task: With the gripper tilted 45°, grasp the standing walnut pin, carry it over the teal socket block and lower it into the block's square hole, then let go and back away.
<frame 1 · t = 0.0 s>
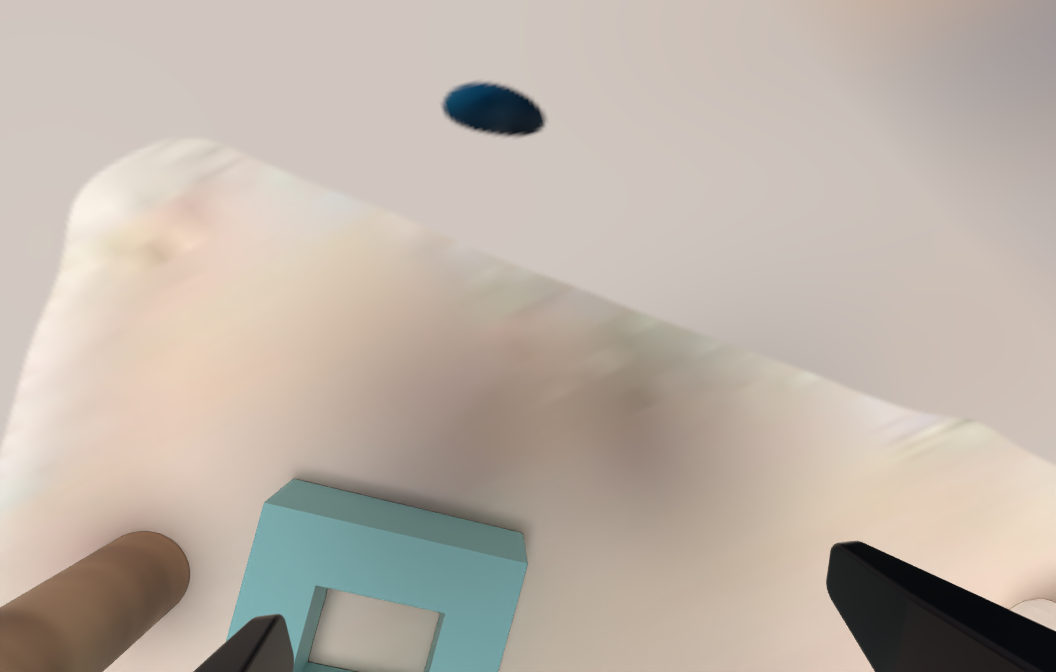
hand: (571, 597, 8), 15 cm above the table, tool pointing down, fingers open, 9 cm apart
walnut pin: (142, 575, 22), on the table
socket block: (379, 618, 23), on the table
shot glass: (1031, 647, 26), on the table
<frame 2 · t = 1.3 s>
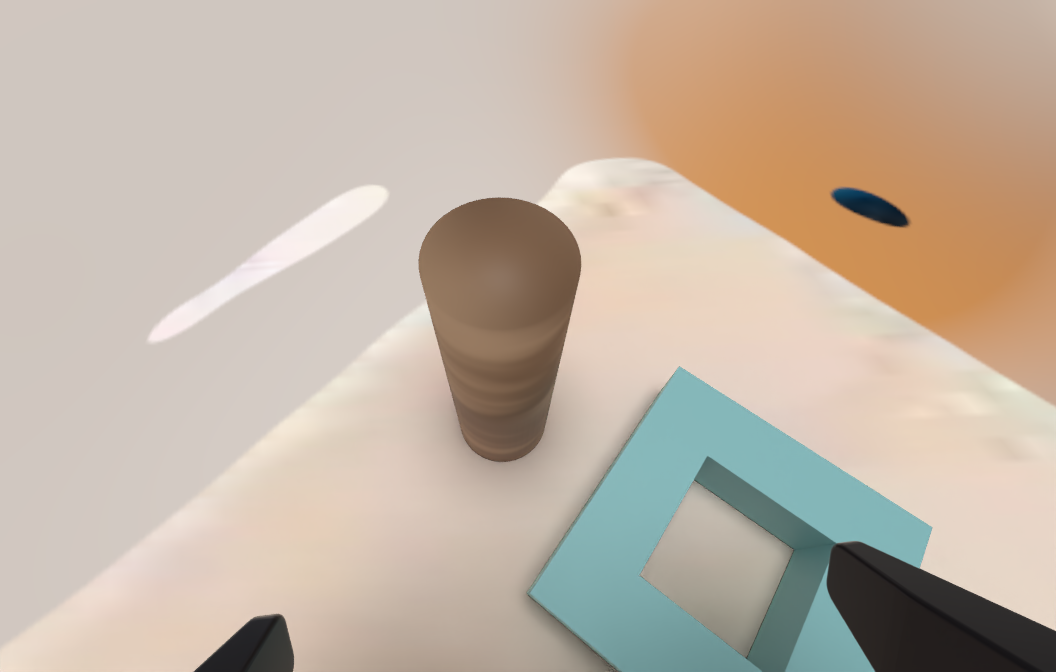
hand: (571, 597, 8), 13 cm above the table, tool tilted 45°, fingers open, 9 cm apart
walnut pin: (502, 419, 23), on the table
socket block: (709, 563, 20), on the table
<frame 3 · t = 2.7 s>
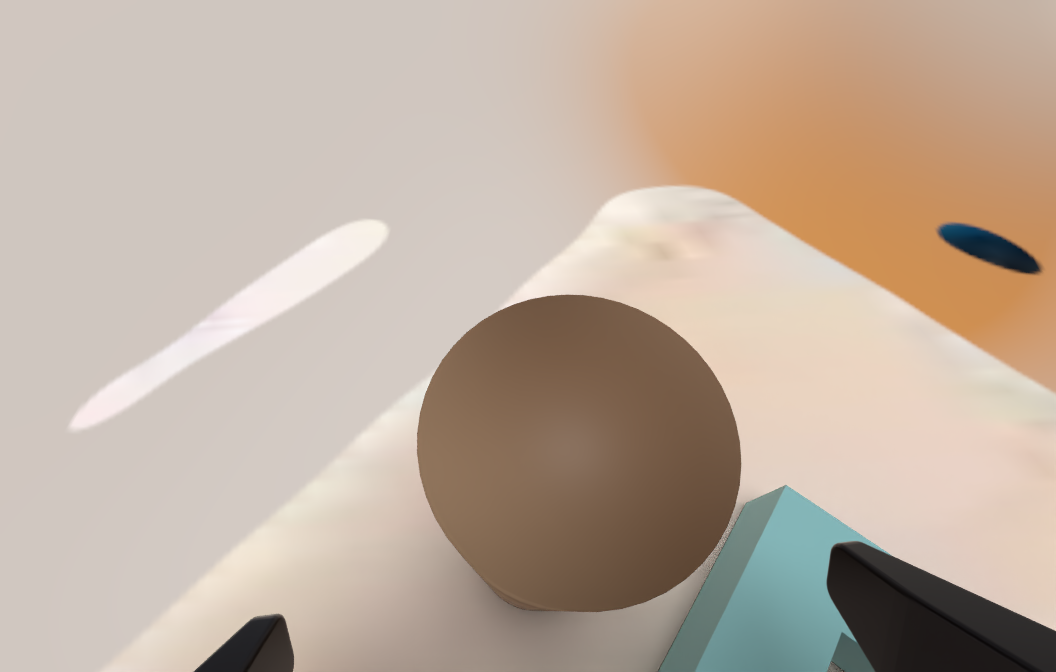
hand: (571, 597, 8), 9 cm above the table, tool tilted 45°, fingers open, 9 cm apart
walnut pin: (535, 544, 17), on the table
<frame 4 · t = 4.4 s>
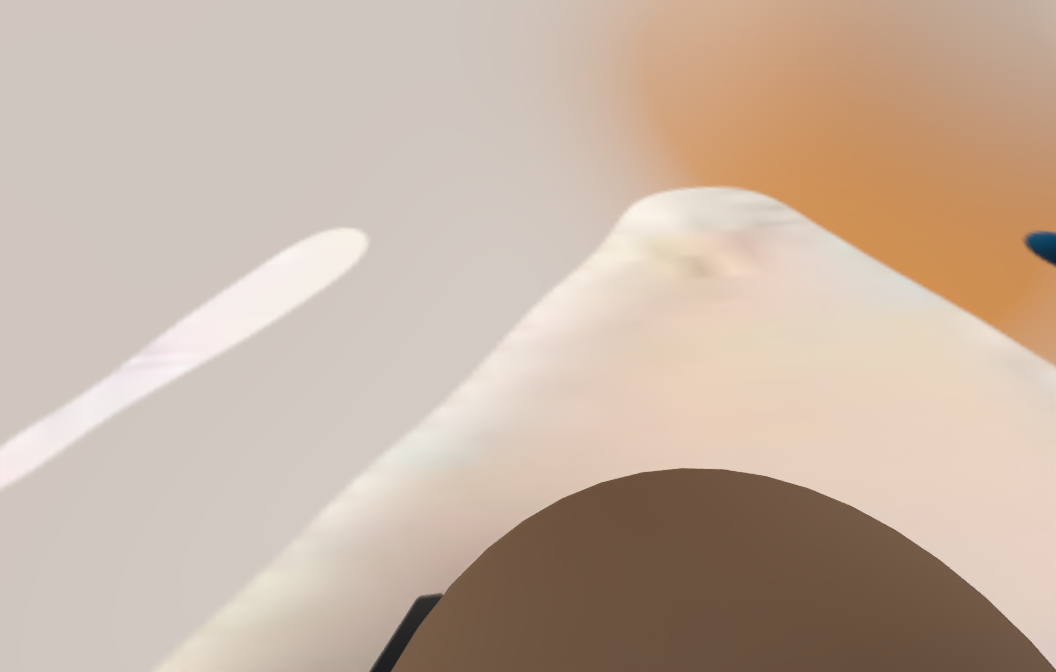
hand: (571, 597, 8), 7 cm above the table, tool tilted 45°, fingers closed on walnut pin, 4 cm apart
walnut pin: (551, 659, 13), on the table, touching gripper
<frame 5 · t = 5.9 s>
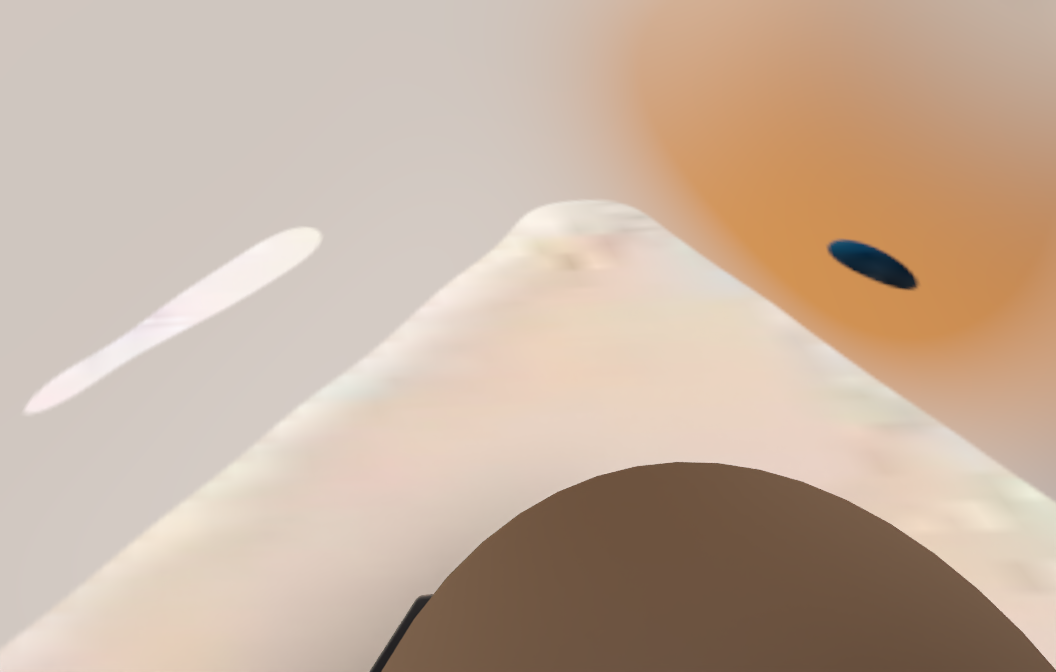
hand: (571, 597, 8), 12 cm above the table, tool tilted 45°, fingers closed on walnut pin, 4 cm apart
walnut pin: (550, 658, 13), point 5 cm above the table, touching gripper
when the fingers open (7 cm above the table, at t = 7.7 s): walnut pin stays where it is, resting in socket block.
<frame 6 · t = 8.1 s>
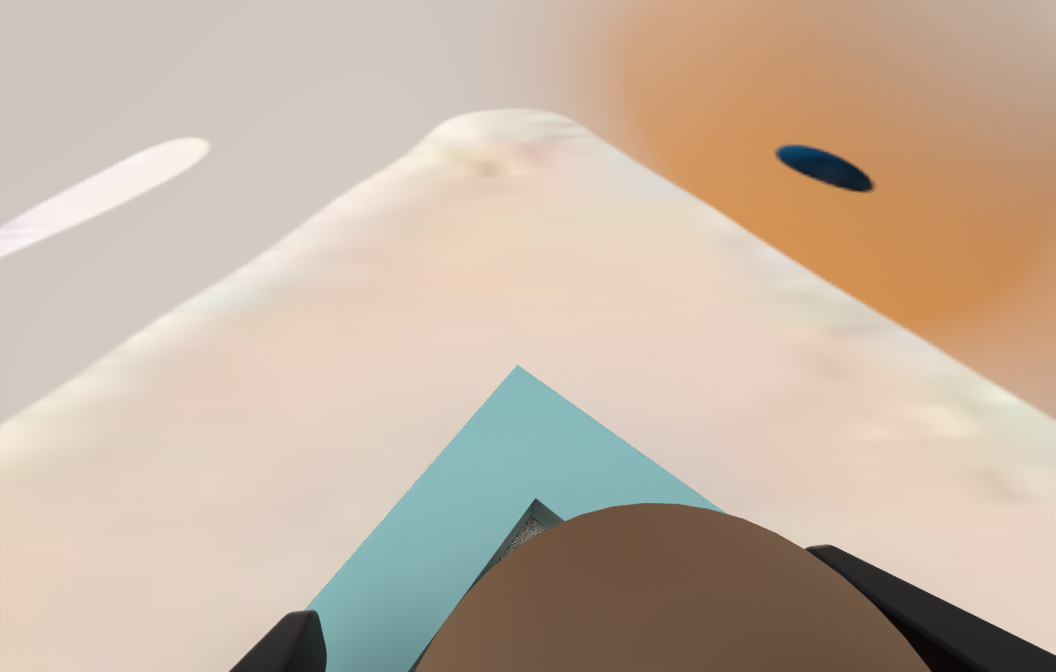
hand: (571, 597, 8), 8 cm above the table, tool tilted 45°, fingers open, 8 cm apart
walnut pin: (549, 658, 14), resting in socket block
socket block: (549, 656, 14), on the table
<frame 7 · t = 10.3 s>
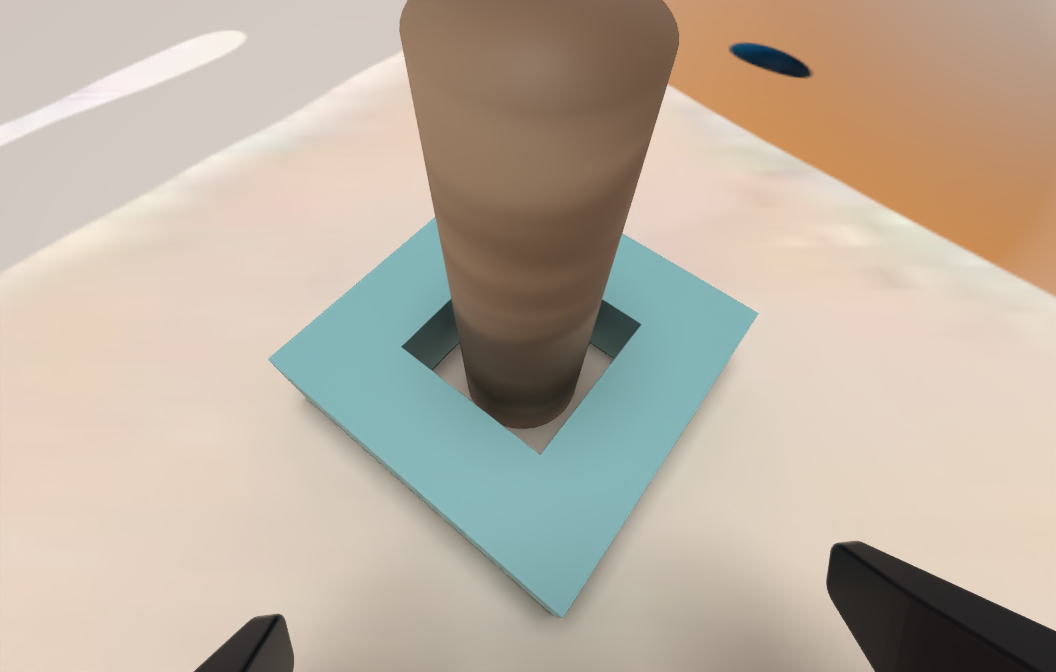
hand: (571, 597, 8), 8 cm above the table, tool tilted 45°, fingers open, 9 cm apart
walnut pin: (521, 375, 18), resting in socket block
socket block: (521, 374, 18), on the table
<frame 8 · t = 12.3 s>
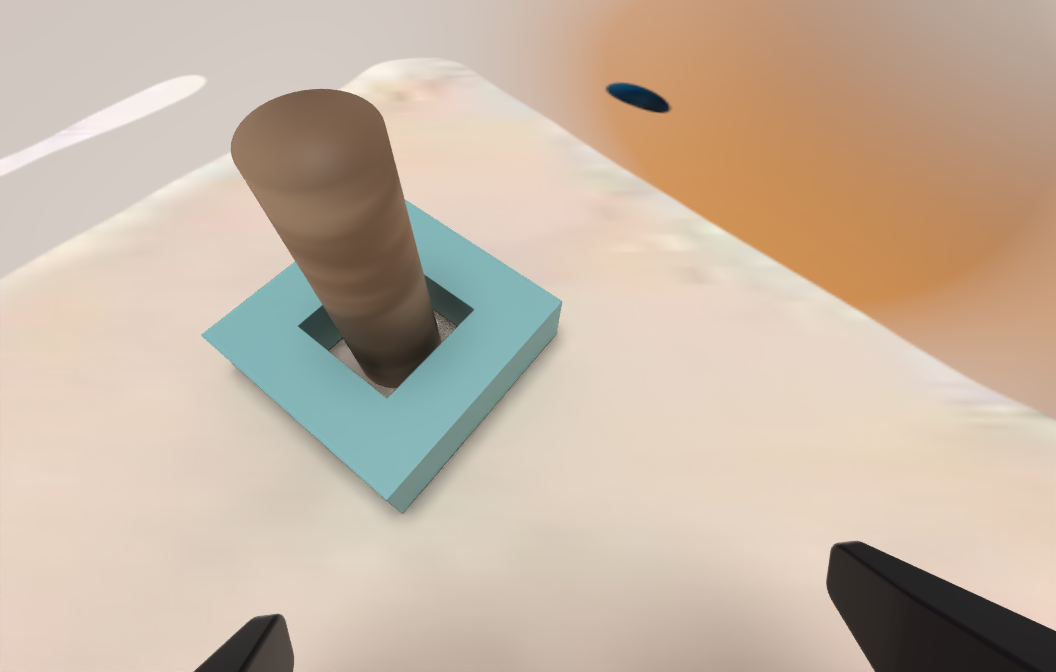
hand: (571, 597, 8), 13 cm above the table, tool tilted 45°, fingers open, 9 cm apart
walnut pin: (400, 350, 24), resting in socket block
socket block: (400, 349, 24), on the table
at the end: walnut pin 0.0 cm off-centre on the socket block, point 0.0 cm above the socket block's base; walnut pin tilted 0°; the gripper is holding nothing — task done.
